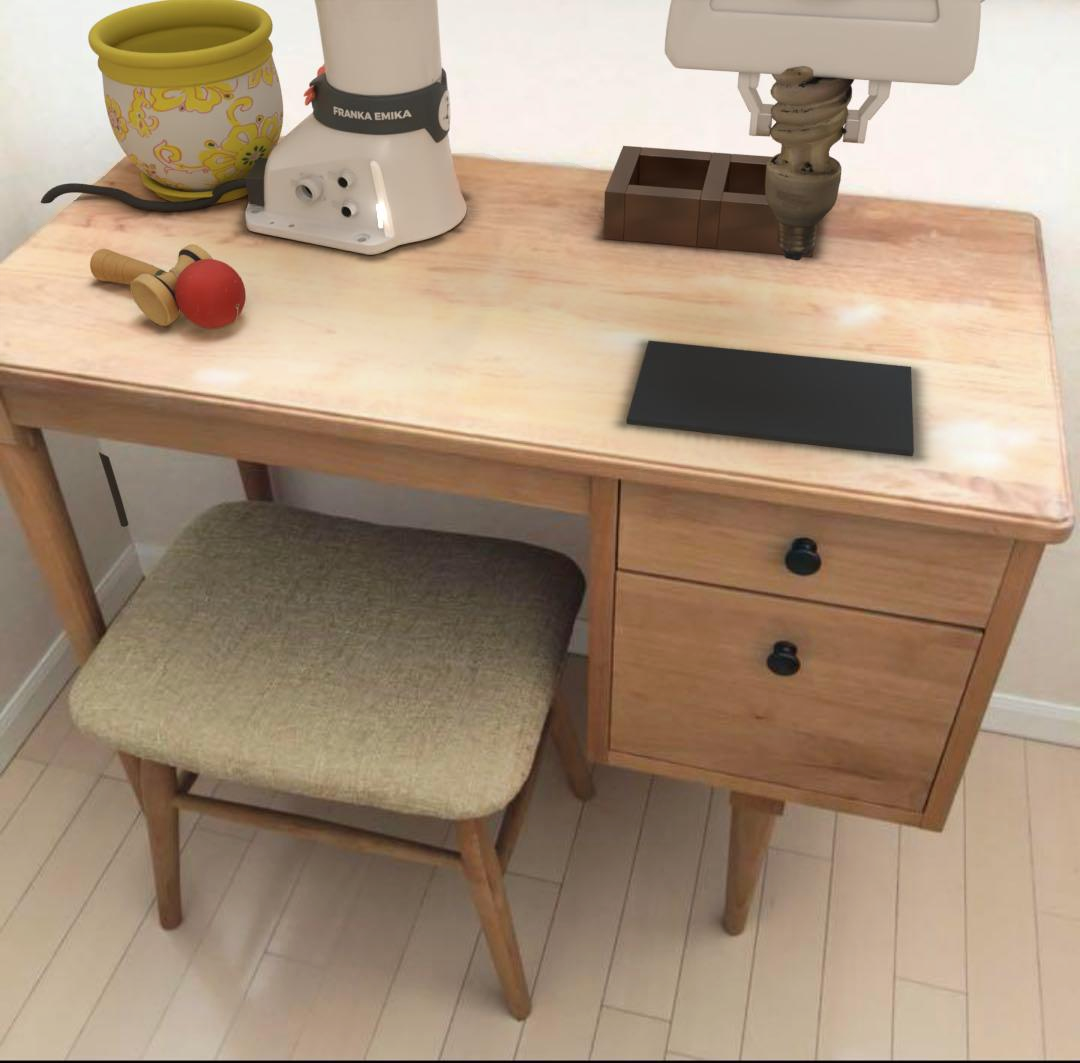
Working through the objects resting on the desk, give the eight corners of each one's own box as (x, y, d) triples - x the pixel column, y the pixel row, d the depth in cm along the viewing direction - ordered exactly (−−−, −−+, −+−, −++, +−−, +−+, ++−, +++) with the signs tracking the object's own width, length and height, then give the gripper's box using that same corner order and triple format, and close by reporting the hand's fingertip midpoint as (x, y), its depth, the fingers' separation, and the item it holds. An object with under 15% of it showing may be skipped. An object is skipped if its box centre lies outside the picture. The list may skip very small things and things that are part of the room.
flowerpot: (321, 156, 137) (301, 4, 126) (247, 226, 124) (218, 63, 113) (178, 140, 141) (147, -10, 130) (92, 206, 128) (50, 46, 117)
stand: (603, 239, 120) (604, 191, 117) (621, 191, 129) (623, 145, 126) (812, 257, 117) (819, 208, 114) (817, 206, 125) (823, 160, 122)
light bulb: (750, 270, 89) (772, 62, 79) (753, 236, 93) (775, 35, 84) (828, 275, 88) (860, 66, 79) (828, 241, 92) (859, 38, 83)
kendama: (73, 312, 113) (202, 344, 104) (59, 244, 110) (190, 271, 101) (141, 292, 119) (269, 321, 109) (129, 227, 116) (260, 251, 106)
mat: (626, 423, 96) (626, 418, 96) (648, 345, 105) (648, 340, 105) (912, 455, 93) (914, 450, 92) (910, 371, 101) (911, 366, 101)
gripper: (1003, -85, 77) (957, 129, 85) (679, -98, 80) (668, 109, 89) (1011, -58, 72) (962, 166, 81) (667, -73, 75) (656, 144, 84)
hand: (805, 136), depth 85 cm, fingers closed on light bulb, 5 cm apart
